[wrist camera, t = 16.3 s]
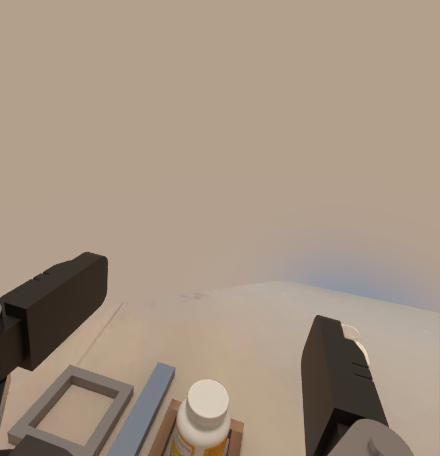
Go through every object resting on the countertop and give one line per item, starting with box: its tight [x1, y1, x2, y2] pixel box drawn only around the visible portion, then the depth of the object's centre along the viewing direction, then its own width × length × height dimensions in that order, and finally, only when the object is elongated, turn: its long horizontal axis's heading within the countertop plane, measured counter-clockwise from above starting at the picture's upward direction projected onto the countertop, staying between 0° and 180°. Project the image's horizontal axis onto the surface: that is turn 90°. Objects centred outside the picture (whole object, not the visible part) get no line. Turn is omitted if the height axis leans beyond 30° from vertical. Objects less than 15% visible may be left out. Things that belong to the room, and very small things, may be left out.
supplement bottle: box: [170, 379, 231, 456], centre depth 29 cm, size 5×5×10 cm
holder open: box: [8, 365, 134, 456], centre depth 33 cm, size 9×9×2 cm
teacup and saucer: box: [341, 324, 370, 367], centre depth 50 cm, size 9×8×4 cm
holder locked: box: [148, 399, 244, 456], centre depth 31 cm, size 9×9×2 cm
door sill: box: [107, 362, 175, 456], centre depth 32 cm, size 18×2×2 cm, turn 167°
